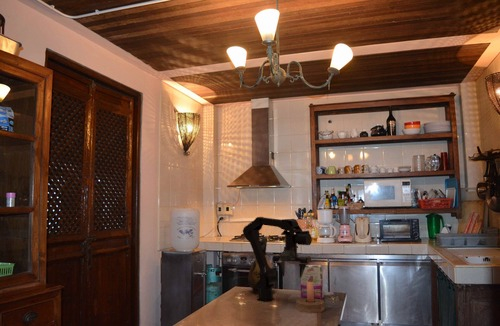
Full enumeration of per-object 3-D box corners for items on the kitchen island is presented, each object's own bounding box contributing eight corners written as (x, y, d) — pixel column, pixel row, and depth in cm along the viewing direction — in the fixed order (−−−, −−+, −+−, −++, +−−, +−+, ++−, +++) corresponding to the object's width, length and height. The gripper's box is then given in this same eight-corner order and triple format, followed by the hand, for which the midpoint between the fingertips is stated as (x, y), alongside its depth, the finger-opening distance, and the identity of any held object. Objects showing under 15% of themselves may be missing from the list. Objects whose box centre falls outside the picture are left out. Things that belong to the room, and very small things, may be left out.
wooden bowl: (293, 310, 180) (293, 302, 181) (303, 304, 191) (303, 297, 191) (318, 314, 174) (318, 305, 175) (327, 307, 185) (327, 300, 185)
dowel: (307, 310, 181) (306, 283, 182) (307, 308, 184) (306, 281, 185) (314, 310, 181) (313, 283, 182) (313, 308, 184) (313, 282, 185)
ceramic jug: (273, 296, 209) (272, 238, 212) (245, 294, 213) (245, 238, 216) (278, 289, 226) (277, 236, 229) (252, 288, 229) (251, 236, 232)
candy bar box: (323, 297, 206) (322, 265, 208) (322, 299, 201) (321, 266, 203) (302, 295, 209) (301, 264, 211) (300, 297, 205) (299, 265, 206)
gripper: (266, 245, 192) (267, 278, 191) (302, 246, 183) (303, 281, 181) (276, 243, 202) (277, 274, 200) (311, 244, 193) (312, 277, 191)
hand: (291, 276), depth 193 cm, fingers open, 9 cm apart
